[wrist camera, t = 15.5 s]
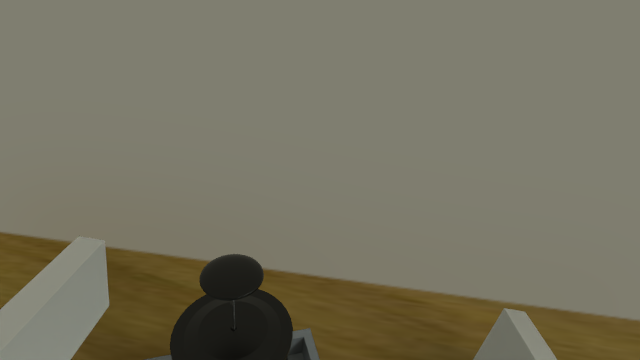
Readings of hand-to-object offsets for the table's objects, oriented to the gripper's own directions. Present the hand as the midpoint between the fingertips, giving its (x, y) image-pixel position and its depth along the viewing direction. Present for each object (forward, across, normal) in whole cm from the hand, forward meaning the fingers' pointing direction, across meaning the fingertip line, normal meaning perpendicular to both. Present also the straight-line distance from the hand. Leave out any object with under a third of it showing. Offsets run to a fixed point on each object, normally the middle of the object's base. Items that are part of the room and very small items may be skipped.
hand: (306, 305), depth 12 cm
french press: (+11, -1, -31) cm, 33 cm away
